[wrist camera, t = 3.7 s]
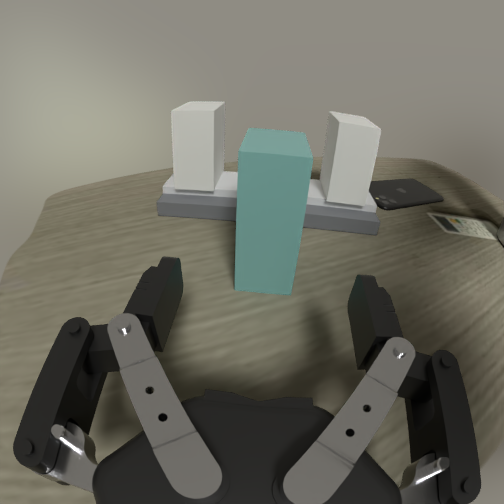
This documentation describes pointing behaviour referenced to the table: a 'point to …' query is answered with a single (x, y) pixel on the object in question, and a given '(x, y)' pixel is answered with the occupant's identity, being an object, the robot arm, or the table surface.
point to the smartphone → (401, 194)
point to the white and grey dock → (225, 183)
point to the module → (270, 209)
